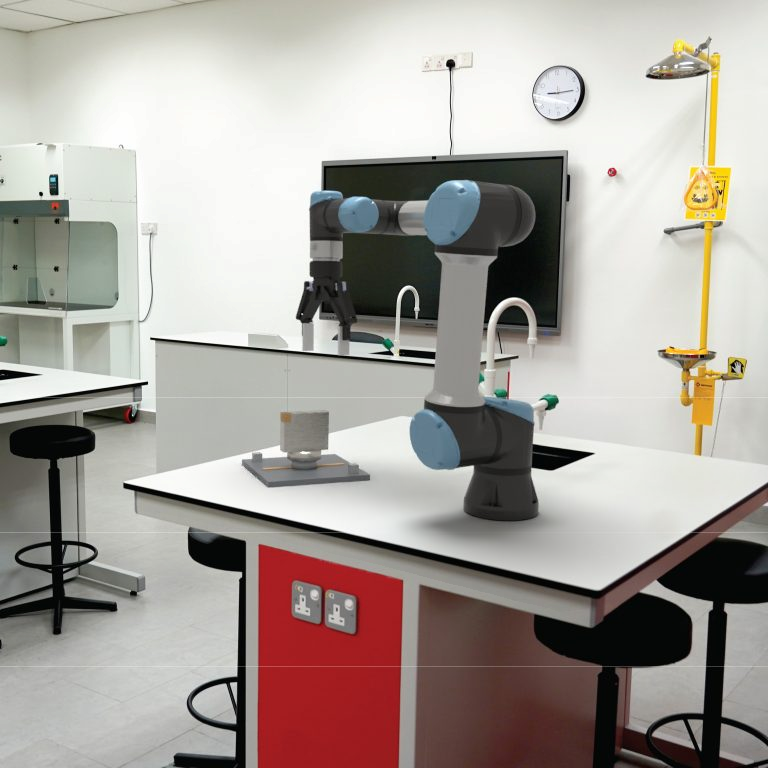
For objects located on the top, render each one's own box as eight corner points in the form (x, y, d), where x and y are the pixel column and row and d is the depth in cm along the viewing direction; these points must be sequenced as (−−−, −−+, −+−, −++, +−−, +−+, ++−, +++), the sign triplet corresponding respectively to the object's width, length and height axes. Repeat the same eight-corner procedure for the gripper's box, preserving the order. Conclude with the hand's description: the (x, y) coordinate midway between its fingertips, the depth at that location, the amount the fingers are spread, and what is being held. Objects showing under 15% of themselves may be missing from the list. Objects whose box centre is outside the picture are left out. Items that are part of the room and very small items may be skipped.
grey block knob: (320, 453, 219) (320, 408, 218) (332, 460, 212) (333, 413, 211) (276, 456, 215) (277, 410, 213) (287, 463, 207) (288, 415, 206)
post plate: (369, 479, 207) (370, 466, 207) (268, 487, 198) (268, 473, 198) (335, 458, 229) (335, 446, 229) (242, 464, 220) (242, 451, 220)
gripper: (281, 260, 214) (281, 349, 216) (347, 259, 195) (346, 357, 198) (307, 260, 219) (306, 348, 221) (373, 260, 200) (372, 356, 202)
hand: (325, 352), depth 209 cm, fingers open, 13 cm apart
